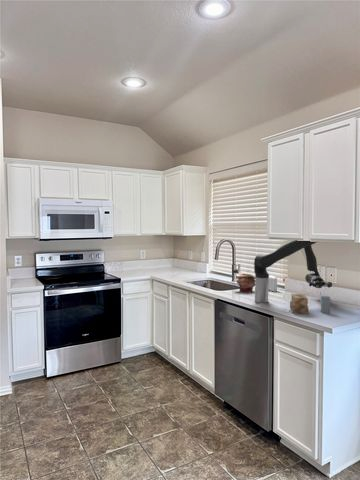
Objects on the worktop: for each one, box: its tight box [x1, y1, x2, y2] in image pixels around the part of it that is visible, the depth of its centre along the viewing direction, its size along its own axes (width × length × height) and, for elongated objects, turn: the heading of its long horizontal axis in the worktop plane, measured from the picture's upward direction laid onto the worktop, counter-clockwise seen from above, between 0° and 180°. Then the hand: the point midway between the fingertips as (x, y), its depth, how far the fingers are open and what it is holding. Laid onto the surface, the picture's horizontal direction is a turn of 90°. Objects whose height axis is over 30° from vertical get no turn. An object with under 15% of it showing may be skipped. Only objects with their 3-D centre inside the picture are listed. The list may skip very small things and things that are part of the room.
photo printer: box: [268, 275, 278, 292], centre depth 287 cm, size 10×4×12 cm, turn 30°
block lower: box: [289, 300, 309, 315], centre depth 218 cm, size 9×14×5 cm, turn 169°
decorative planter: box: [235, 273, 255, 293], centre depth 281 cm, size 20×12×14 cm, turn 115°
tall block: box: [320, 295, 331, 314], centre depth 216 cm, size 4×4×10 cm
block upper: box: [290, 293, 309, 308], centre depth 218 cm, size 8×12×5 cm, turn 169°
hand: (322, 286), depth 227 cm, fingers open, 8 cm apart
